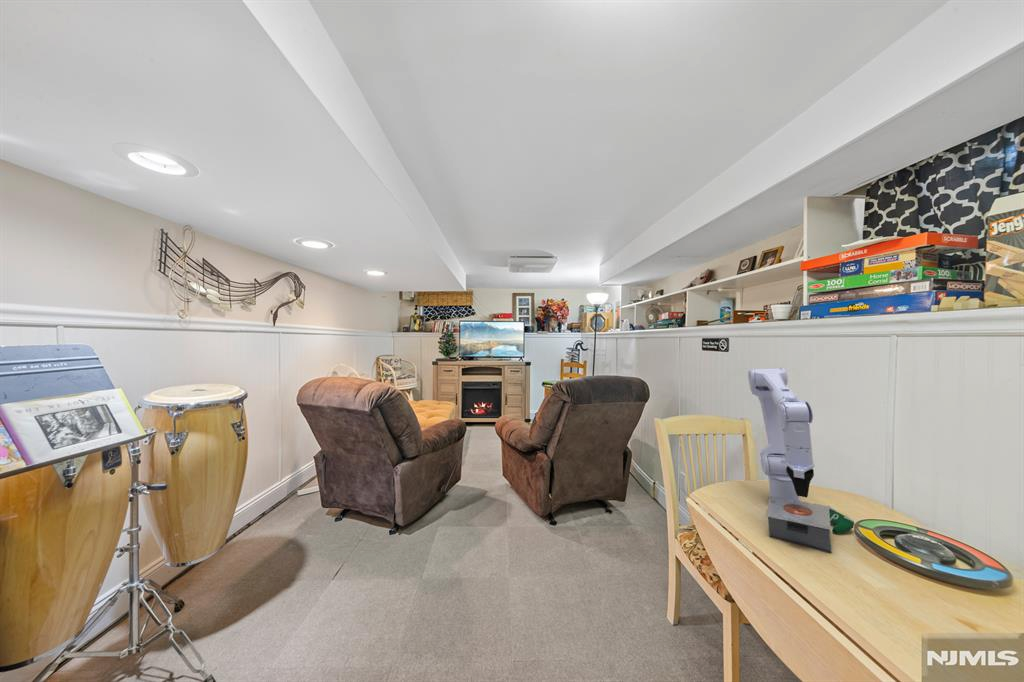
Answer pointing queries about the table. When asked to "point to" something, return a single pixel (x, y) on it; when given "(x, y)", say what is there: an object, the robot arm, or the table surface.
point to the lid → (799, 512)
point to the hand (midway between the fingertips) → (802, 495)
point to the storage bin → (800, 534)
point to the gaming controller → (840, 522)
